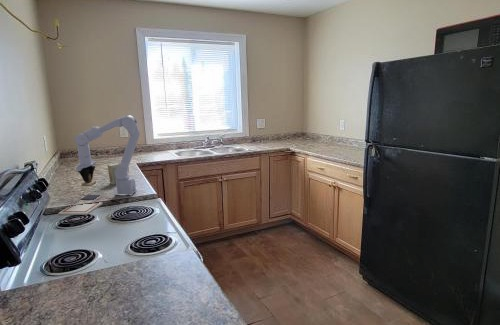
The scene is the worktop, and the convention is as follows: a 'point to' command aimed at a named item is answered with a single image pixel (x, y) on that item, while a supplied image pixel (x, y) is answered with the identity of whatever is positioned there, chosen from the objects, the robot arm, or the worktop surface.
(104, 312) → the worktop surface
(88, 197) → the ink pad
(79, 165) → the robot arm
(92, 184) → the stamp
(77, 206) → the marked board
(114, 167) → the skincare box
